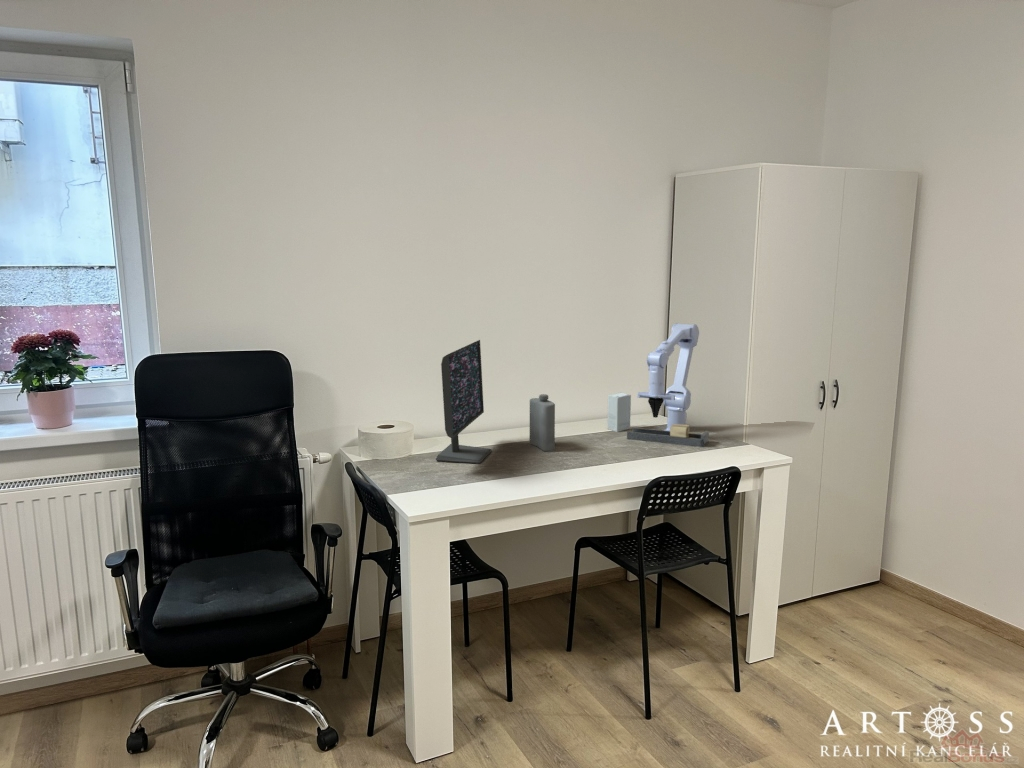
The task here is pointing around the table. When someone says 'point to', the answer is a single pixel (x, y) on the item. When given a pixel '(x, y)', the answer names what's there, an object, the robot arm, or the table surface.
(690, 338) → the robot arm
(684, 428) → the maple block
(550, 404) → the flask
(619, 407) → the skincare box
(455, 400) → the computer monitor
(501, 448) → the table surface
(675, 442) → the chute
